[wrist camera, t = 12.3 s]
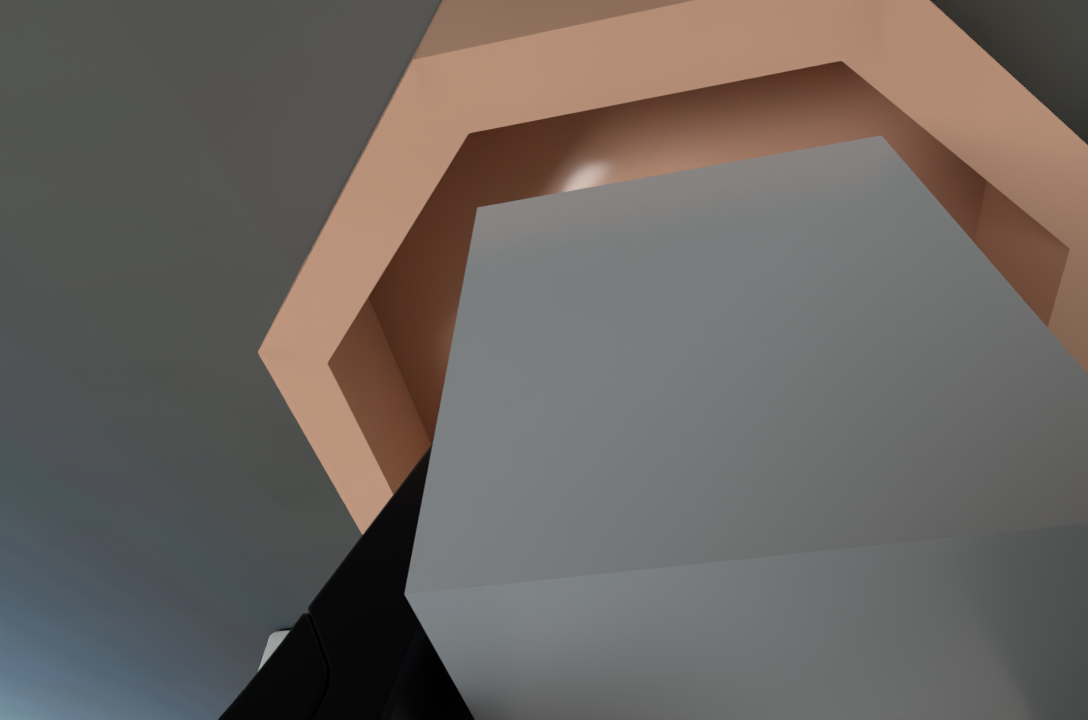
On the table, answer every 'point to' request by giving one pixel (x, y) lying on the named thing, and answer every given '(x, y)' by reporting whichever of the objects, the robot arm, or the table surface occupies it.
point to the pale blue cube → (754, 459)
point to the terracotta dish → (641, 174)
